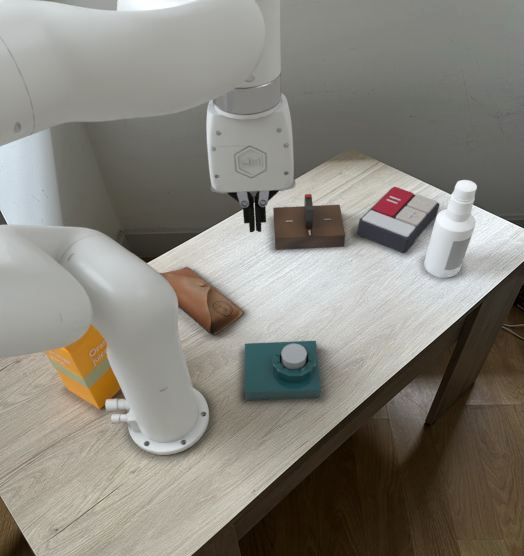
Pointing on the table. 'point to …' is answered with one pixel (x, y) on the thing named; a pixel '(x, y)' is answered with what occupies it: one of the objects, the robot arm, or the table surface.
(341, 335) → the table surface
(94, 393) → the orange juice
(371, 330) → the table surface
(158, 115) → the robot arm
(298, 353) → the grey cylindrical knob
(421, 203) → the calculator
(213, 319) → the sunglasses case
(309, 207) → the dial
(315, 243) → the selector
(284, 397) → the grey cylindrical knob base
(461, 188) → the spray bottle
